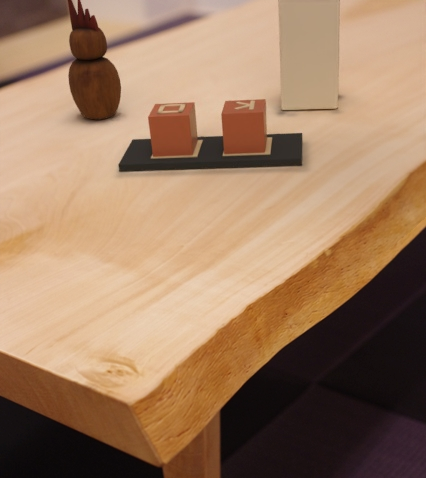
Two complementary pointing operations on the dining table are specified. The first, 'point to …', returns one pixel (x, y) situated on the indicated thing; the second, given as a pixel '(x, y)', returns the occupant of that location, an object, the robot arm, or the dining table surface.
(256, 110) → the red letter k block
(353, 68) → the dining table surface
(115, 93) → the wooden figurine
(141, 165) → the word mat
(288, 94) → the milk carton
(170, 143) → the red letter o block
